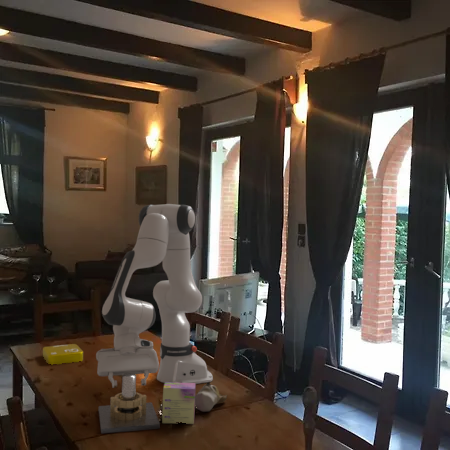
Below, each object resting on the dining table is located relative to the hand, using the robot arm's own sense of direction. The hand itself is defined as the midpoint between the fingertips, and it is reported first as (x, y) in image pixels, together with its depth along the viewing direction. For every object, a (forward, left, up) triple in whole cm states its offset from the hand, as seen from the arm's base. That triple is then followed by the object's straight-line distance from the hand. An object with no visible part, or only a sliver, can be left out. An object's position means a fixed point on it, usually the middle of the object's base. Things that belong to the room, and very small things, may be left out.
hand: (129, 385), depth 174 cm
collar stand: (0, 0, -11) cm, 11 cm away
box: (-16, +4, -11) cm, 20 cm away
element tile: (+22, -70, -12) cm, 74 cm away
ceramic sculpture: (-28, -6, -12) cm, 31 cm away
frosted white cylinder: (0, 0, -10) cm, 10 cm away
